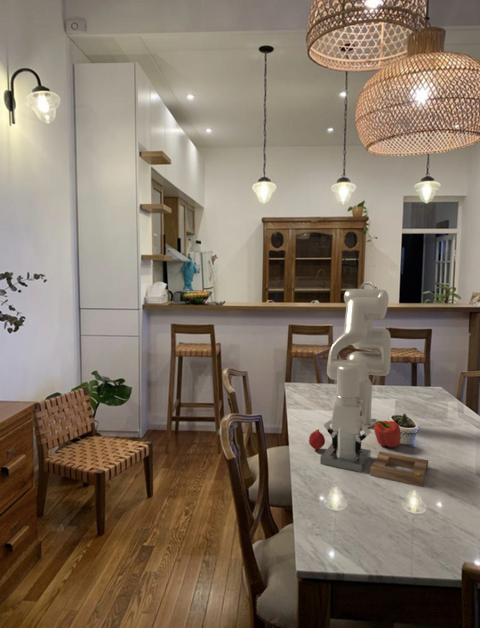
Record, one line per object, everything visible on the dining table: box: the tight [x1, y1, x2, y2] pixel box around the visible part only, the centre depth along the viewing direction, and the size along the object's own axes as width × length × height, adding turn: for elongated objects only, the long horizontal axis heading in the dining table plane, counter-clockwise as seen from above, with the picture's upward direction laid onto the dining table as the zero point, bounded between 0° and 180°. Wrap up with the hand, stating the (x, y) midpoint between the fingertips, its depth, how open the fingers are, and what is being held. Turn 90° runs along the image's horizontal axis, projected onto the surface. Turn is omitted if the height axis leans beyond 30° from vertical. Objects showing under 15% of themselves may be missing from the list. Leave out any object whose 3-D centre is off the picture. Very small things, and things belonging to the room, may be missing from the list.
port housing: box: [369, 451, 429, 487], centre depth 149 cm, size 16×16×3 cm
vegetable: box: [373, 420, 402, 448], centre depth 171 cm, size 11×10×10 cm
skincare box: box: [336, 428, 357, 461], centre depth 158 cm, size 6×4×12 cm
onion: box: [308, 428, 326, 451], centre depth 167 cm, size 6×6×8 cm
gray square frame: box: [319, 443, 372, 473], centre depth 158 cm, size 14×14×2 cm
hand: (346, 449), depth 158 cm, fingers closed on skincare box, 7 cm apart
